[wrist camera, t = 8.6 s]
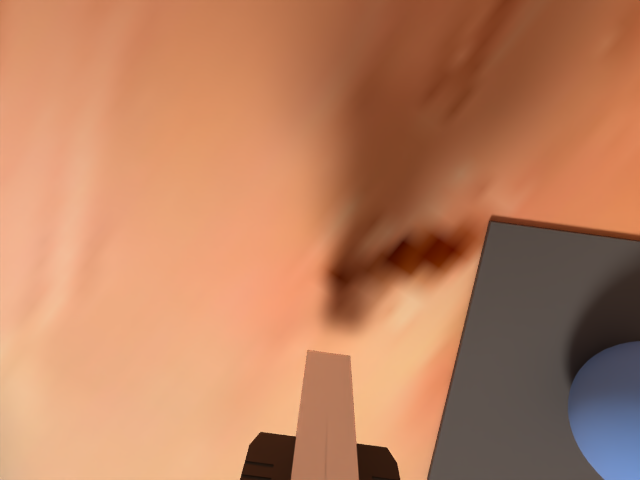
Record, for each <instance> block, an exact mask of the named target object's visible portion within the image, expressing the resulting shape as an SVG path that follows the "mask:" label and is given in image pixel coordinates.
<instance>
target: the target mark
mask: <svg viewBox="0 0 640 480" xmlns="http://www.w3.org/2000/svg"><path fill="white" fill-rule="evenodd" d="M634 341H640V241H636V240H628V239H621V238H613V237H606V236H599V235H591V234H584V233H576V232H569V231H561V230H554V229H547V228H539V227H532V226H524V225H517V224H510V223H502V222H495V221H489V224H488V229H487V233H486V237H485V241H484V245H483V249H482V253H481V258H480V262H479V266H478V270H477V274H476V278H475V283H474V287H473V291H472V295H471V299H470V303H469V307H468V312H467V316H466V320H465V324H464V328H463V332H462V337H461V341H460V345H459V349H458V353H457V357H456V361H455V366H454V370H453V374H452V378H451V382H450V386H449V391H448V395H447V399H446V403H445V407H444V411H443V415H442V420H441V424H440V428H439V432H438V436H437V440H436V444H435V449H434V453H433V457H432V461H431V465H430V469H429V474H428V478H427V480H604V479H603V478H602V477H601V476H600V475H599V474H598V473H597V472H596V470H595V469H594V468H593V467H592V466H591V464H590V463H589V462H588V461H587V459H586V458H585V456H584V455H583V453H582V452H581V450H580V448H579V447H578V445H577V442H576V440H575V438H574V436H573V433H572V430H571V426H570V422H569V417H568V398H569V392H570V388H571V385H572V383H573V380H574V378H575V376H576V374H577V373H578V371H579V370H580V369H581V367H582V366H583V365H584V364H585V363H586V362H587V361H588V360H589V359H590V358H592V357H593V356H594V355H596V354H598V353H599V352H601V351H603V350H605V349H607V348H610V347H612V346H615V345H618V344H622V343H627V342H634Z"/></svg>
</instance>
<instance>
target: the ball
mask: <svg viewBox="0 0 640 480" xmlns="http://www.w3.org/2000/svg"><path fill="white" fill-rule="evenodd" d="M568 417H569V422H570V426H571V430H572V433H573V436H574V438H575V440H576V442H577V445H578V447H579V448H580V450H581V452H582V453H583V455H584V456H585V458H586V459H587V461H588V462H589V463H590V464H591V466H592V467H593V468H594V469H595V470H596V472H597V473H598V474H599V475H600V476H601V477H602V478H603V479H604V480H640V341H634V342H627V343H622V344H618V345H615V346H612V347H610V348H607V349H605V350H603V351H601V352H599V353H598V354H596V355H594V356H593V357H592V358H590V359H589V360H588V361H587V362H586V363H585V364H584V365H583V366H582V367H581V369H580V370H579V371H578V373H577V374H576V376H575V378H574V380H573V383H572V385H571V388H570V392H569V398H568Z"/></svg>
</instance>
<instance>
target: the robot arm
mask: <svg viewBox="0 0 640 480" xmlns="http://www.w3.org/2000/svg"><path fill="white" fill-rule="evenodd" d="M240 480H400V476H399V471H398V465H397V462H396V461H395V459H394V458H393V456H392V455H391V453H390V452H389V450H388V449H387V448H386V447H379V446H371V445H364V444H356V432H355V417H354V403H353V389H352V374H351V360H350V356H348V355H340V354H333V353H325V352H318V351H310V350H307V356H306V364H305V371H304V378H303V386H302V393H301V401H300V408H299V416H298V424H297V431H296V437H294V436H287V435H279V434H272V433H264V432H260V433H259V435H258V436H257V437H256V438H255V439H254V440H253V441H252V443H251V444H250V445H249V449H248V452H247V456H246V460H245V464H244V467H243V471H242V474H241V478H240Z"/></svg>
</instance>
